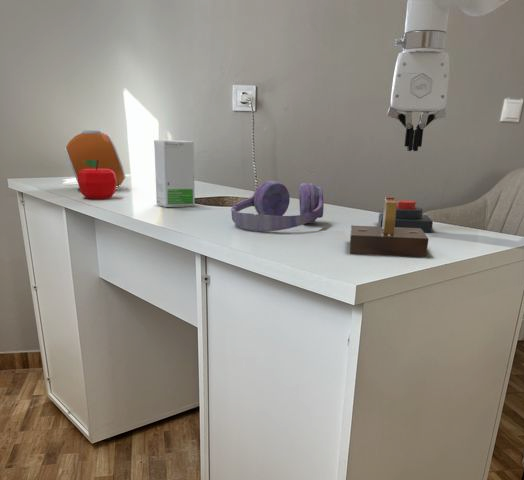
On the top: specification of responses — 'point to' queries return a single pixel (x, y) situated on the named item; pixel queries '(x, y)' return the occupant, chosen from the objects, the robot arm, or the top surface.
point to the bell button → (406, 205)
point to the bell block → (410, 219)
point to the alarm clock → (94, 153)
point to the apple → (96, 181)
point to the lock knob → (389, 215)
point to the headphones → (278, 207)
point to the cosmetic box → (174, 173)
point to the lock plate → (388, 241)
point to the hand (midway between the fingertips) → (412, 150)
